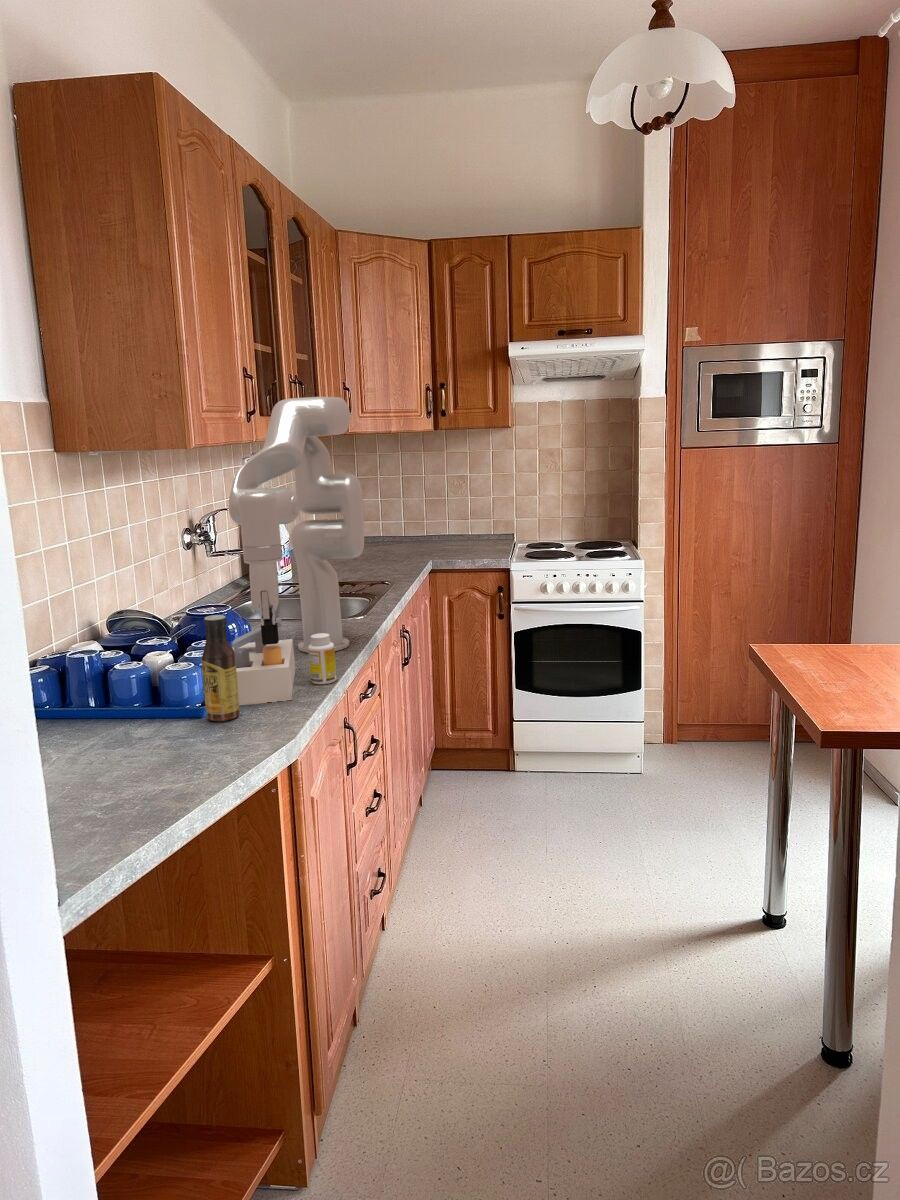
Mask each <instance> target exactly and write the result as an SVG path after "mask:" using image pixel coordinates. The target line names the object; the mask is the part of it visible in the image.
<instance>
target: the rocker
mask: <svg viewBox="0 0 900 1200" xmlns="http://www.w3.org/2000/svg"><path fill="white" fill-rule="evenodd" d="M276 623H277V625H278V629H279V628H281V627H282V624H283V621H282V619H281V616H279V617H276ZM259 636H262V633H261V625H260V626H258V627H256V628H254V629H253V630H250V631H248V632H247V633H244V634H243V635H241V636H238V637H237V638H234V640H233V642H232V643H231V646H232V647H233V648H234V649H237V648H239V647H241V646H243V645H245V644H247V643H251V642H254V641H255V637H259Z"/></svg>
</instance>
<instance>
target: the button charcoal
mask: <svg viewBox="0 0 900 1200" xmlns="http://www.w3.org/2000/svg"><path fill="white" fill-rule="evenodd" d="M234 656H235V664H236V668H244V667H250V657H249V649H247V648H240V649H234Z"/></svg>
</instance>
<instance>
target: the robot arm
mask: <svg viewBox="0 0 900 1200" xmlns="http://www.w3.org/2000/svg"><path fill="white" fill-rule="evenodd" d="M350 423H351V411H350V408H349V405H348V404H347V402H346V401H345V399H344V398H342V397H337V396H334V397H333V396H330V397H329V396H312V397H311V396H308V397H292V398H285V399H282V400H279V401H278V402H276V403H275V404H274V406H273V408H272V410H271V414H270V418H269V422H268V426H267V431H266V435H265V440H264V444H263V447H262V448H261V449H260V450H259V451H258V452H256V453H255V454H254V455H252V456H251V457H250V458H249V459H248V460H247V461H246V462H244V464H242V465H241V466H240V468H239V469H238V471H237V472H236V473H235V475H234V478H233V481H232V485H231V488H230V494H229V497H228V511H229V515H230V518H231V520H232V521H233V522H234V523H235V524H237V525H240V533H241V542H242V554H243V562H244V564H248V565H249V568H248V569H249V584H250V585H249V586H250V599H251V612H252V613H253V614H256V613H257V611H259V613H260V621H261V622H260V623H261V624H260V626H261V633H262V643H263V645H268V644H278V642H279V640H280V639H279V638H280V637H279V636H280V635H279V628H278V625H277V623H276V618H277V615H276V611H277V610H278V607H279V578H278V577H279V574H278V563H277V562H280V561H283V552H282V541H281V528H280V525H286V524H290V523H293V522H294V521H295V520H296V519H298V516H299V514H300V512H301V513H303V514H307V515H324V514H325V515H327V514H341V515H342V517H343V518H336V519H335V518H333V519H332V518H330V519H327V518H326V519H308V520H304V521H300V522H298V523H297V524H295V525H294V526H293V528H292V530H291V533H290V541H291V547H292V551H293V554H294V555H293V556H294V559H295V562H296V569H297V578H298V585H299V586H298V587H299V588H298V589H299V599H300V609H301V621H302V622H301V624H302V634H303V641H300V642H299V643H298V644H297V648H298V650H299V651H300V652H303V653H307V654H308V646H309V645H310V644H312V643H311V636H312V635H314V634H319V633H327V634H329V636H330V642H332V643H333V644H334V650H335V652H338V651H340V650H344V649H347V648H348V647H349V646H350V639H348V638H346V637H343V636H344V635H343V626H342V625H343V624H342V616H341V615H342V613H341V612H342V611H341V602H340V601H341V599H340V588H339V586H340V585H339V576H338V575H337V574H338V573H337V572H336V569H335V568H334V567H333V566H332V564H330V562H329V561H328V560H336V559H354V558H358V557H360V556H361V555H362V554H363V551H364V548H365V526H364V525H365V524H364V498H363V488H362V484H361V482H360V480H359V478H358V477H357V476H356V475H355V474H352V473H349V472H348V473H332V472H331V457H330V451H329V450H328V448H327V447H326V446H325V445H324V443H323V442H322V441H321V439H319V437H317V436H336V435H344V433H346V432H347V430H348V429H349V427H350ZM293 470H294V476H295V478H294V480H295V482H294V483H295V491H294V490H292V488H289V487H260V486H261V485H262V484H265V483H266V482H269V481H271V480H273V479H276V478H278V477H281V476H283V475H284V474H286V473H289V472H291V471H293Z"/></svg>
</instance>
